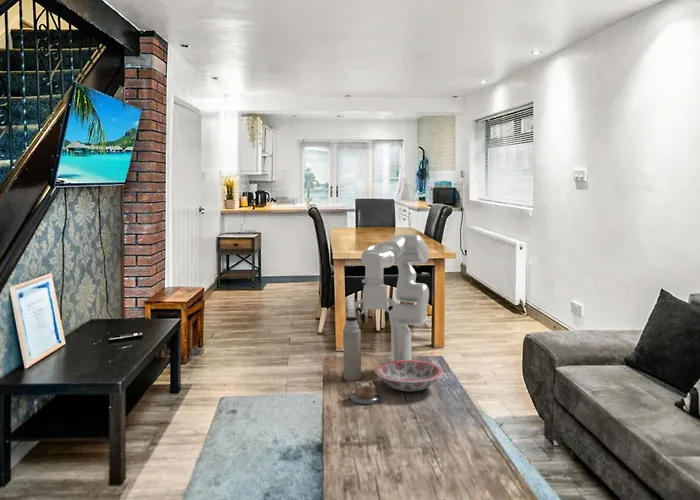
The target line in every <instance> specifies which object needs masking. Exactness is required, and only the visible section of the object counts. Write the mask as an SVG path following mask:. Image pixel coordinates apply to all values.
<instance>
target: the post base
mask: <svg viewBox="0 0 700 500" xmlns="http://www.w3.org/2000/svg"><path fill="white" fill-rule="evenodd" d="M360 386H370V384H369V382H367V383H360ZM349 397H350V402H351V403H353V404H355V405H359V406H369V405H374V404H377V403H379V402H380V400H381V399H380V393H378V392H376V391H375V398H374V399H360V400H358V398H357V396H356V393H355V392H353V393H351V394H350V396H349Z"/></svg>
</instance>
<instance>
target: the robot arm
mask: <svg viewBox="0 0 700 500" xmlns="http://www.w3.org/2000/svg"><path fill="white" fill-rule="evenodd" d="M429 250H430V249H429V248H428V246H427V244H426V242H425V241H424V239H423V238H422V236H420V235H418V234H410V233H409V234H408V233H404V234H403V233H402V234H401V233H400V234H396V235H395V236H393V237H392V238H390V239H389V240H387V241H383V242H380V243H377V244H376V243H375V244H373V245H370V246H368V247H366V248H365V249H364V251H363V252H362V254H361V257H360V258H361V263H362V265H363V266H364V267H365V274H364V275H365V277H364V278H363V279H362V280H361V283H363V290H362V298H361V299H359V300H357V301H356V302H354V303H353V304H354V306H355V308H356V310H357V311H358V312H359V313H360V321H361V322H362V323H363V324H365V323H366V313H365V312H366V311H371V310H385V311H384V322H386V323H388V322H389V321H390V332H391V338H390V339H391V344H390V345H391V348H390V349H391V360H390V361H398V360H412V331H411V329H410V328H409V326H410V325H411V326H423V324H425V322H426V319H427V313H428V305H429V299H430V289H429V287H428V285H427V284H426V283H423V282H422V283H421V282H416V279H417V272H416V271H415V268H414V267H413V266H412V265H411V264H427V262H428V261H429V259H430V251H429ZM394 264H396V265H397V269H398V277H397V282H396V290H395V299H396V300H397V301H399V302H403V303H396V301H394V300H392V299H390V298H388V293H387V286H386V284H385V283H384V279H385V278H384V269H388V268H391V267H392V266H393V265H394ZM389 303H390V305H389ZM410 303H411V304H410ZM412 303H415V304H412ZM360 304H362V308H361V307H360V306H359V305H360Z"/></svg>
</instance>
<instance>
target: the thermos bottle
mask: <svg viewBox="0 0 700 500" xmlns="http://www.w3.org/2000/svg"><path fill="white" fill-rule="evenodd" d="M345 319H346V321H345V322H346V323H345V324H344V325H343V326H344V327H343V328H344V329H342V335H343V336H342V342H343V343H342V348H343V350H342V354H343V378H344V380H346V381H357V380H360V379H362V352H361V351H362V350H361V349H362V348H361V345H362V343H361V342H362V341H361V339H362V337H361V335H362V333H361V328H360V325H359V324H358V321H357V317H356V316H348V317H346V318H345Z"/></svg>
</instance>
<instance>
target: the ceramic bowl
mask: <svg viewBox="0 0 700 500" xmlns="http://www.w3.org/2000/svg"><path fill="white" fill-rule="evenodd" d="M374 369H375V370H374V372H375V374H376V375H377V376H378V377H379V378H380V379H381V380H382V381H383V382H384V383H385V384H386V386H388V387H390V388H391V389H393V390H397V391H402V392H418V391H419V392H420V391H423V390H425V389H428V388H429V387H431V386H432V385H433V384H434V383H435V382H436V381H437V380H438V378H440V377H442V376H443V374H444V370H443V369H442V368H441V367H440V365H438V364H435V363H432V362H427V361H424V360H423V361H422V360H416V359H415V360H414V359H411V360H398V361H392V360H390V361H386V362H384V363H383V362H382V363H381V364H379V365H377V366H376V367H375V368H374Z"/></svg>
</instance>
